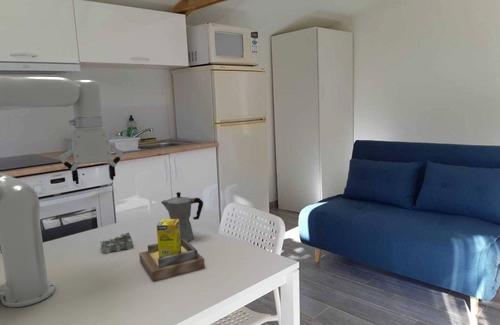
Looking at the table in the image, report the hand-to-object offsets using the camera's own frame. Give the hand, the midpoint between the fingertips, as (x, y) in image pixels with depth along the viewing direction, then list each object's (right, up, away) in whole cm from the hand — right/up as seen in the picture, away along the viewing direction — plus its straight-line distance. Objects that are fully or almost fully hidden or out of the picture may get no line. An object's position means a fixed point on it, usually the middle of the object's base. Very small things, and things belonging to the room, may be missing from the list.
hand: (94, 181), depth 111 cm
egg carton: (-1, -25, +22) cm, 34 cm away
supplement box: (+21, -24, +6) cm, 33 cm away
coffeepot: (+22, -23, +29) cm, 43 cm away
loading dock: (+21, -27, +7) cm, 35 cm away
